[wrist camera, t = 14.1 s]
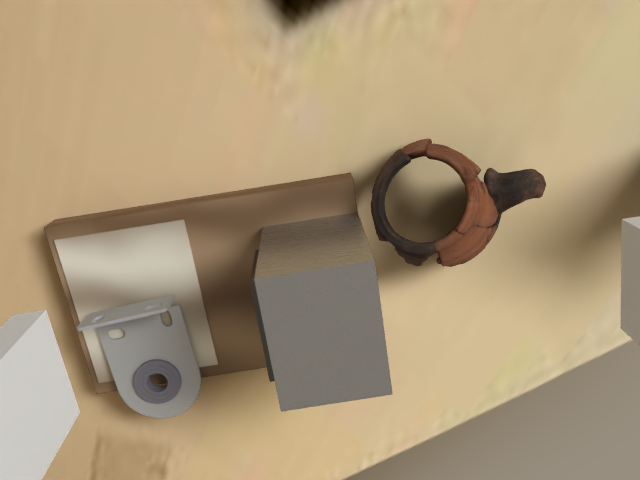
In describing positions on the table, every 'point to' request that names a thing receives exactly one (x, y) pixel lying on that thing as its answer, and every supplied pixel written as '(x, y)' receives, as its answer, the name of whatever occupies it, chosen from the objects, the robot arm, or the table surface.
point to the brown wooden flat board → (184, 265)
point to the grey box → (320, 312)
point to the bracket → (149, 356)
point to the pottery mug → (479, 211)
